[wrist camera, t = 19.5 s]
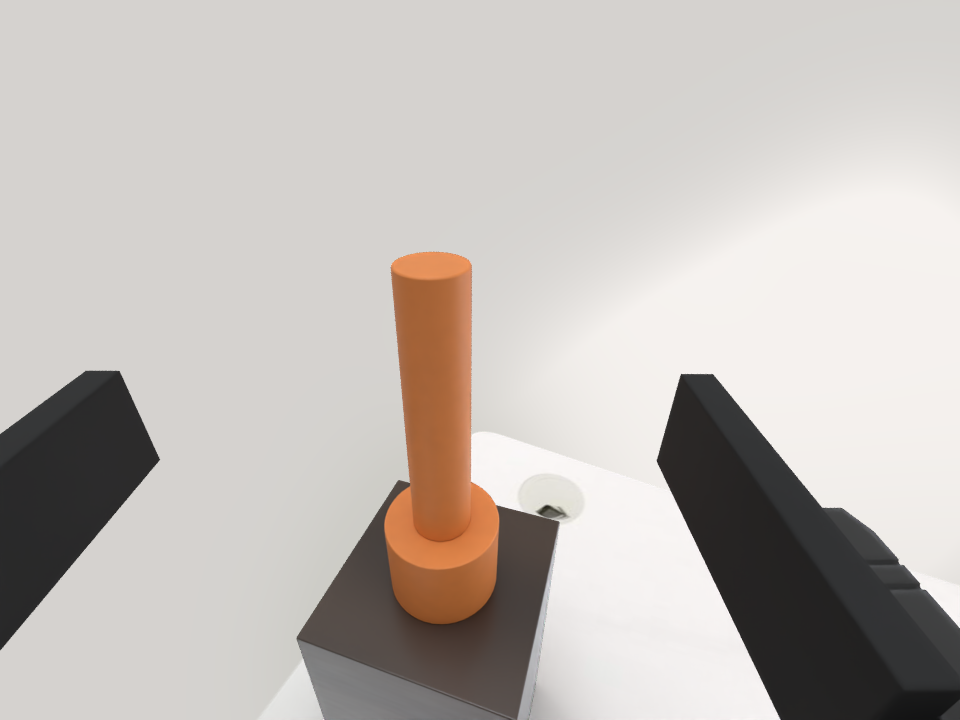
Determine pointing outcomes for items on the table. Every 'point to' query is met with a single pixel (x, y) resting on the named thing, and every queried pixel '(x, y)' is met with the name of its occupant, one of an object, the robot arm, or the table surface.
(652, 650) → the table surface
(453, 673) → the stand
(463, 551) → the orange tower post
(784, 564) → the robot arm
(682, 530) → the table surface
